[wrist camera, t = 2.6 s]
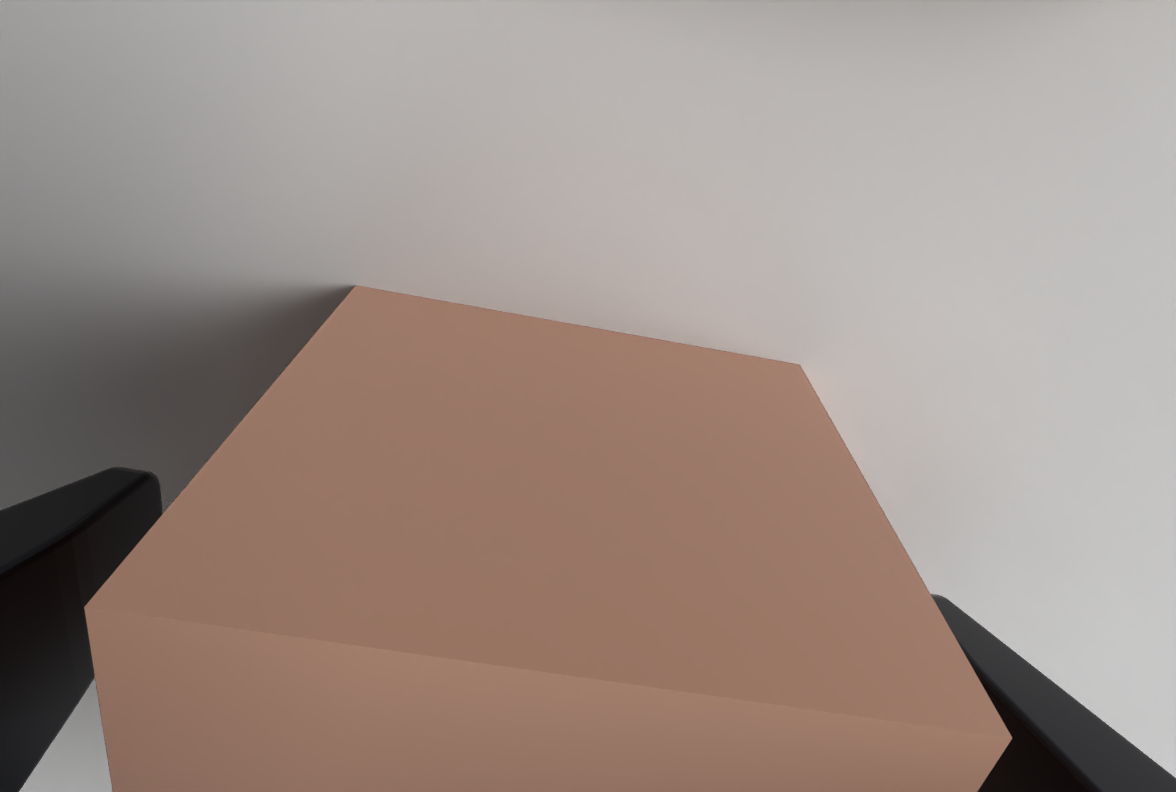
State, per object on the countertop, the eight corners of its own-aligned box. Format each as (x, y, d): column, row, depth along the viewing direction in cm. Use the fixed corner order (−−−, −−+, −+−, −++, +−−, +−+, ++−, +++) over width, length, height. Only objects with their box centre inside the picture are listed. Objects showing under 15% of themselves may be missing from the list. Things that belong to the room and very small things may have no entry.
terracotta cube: (340, 621, 11) (155, 1071, 6) (357, 283, 8) (82, 607, 4) (689, 670, 11) (756, 1127, 6) (798, 360, 9) (1010, 737, 4)
